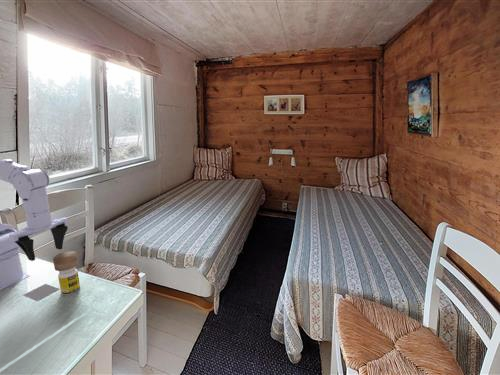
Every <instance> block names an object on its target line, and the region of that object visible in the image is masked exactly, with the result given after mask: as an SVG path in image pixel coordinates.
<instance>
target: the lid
mask: <svg viewBox="0 0 500 375" xmlns="http://www.w3.org/2000/svg"><path fill="white" fill-rule="evenodd" d="M78 260H79V259H78V255H77V252H76V251H72V250H71V251H70V250H69V251H64V252H60V253H58V254H56V255H54V256H53V257H52V261H53V266H54V270H55V271H57V272H59V271H65V270H69V269H71V268H74V267H76V266H77V265H79V261H78ZM77 267H78V266H77Z"/></svg>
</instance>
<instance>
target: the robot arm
mask: <svg viewBox="0 0 500 375" xmlns="http://www.w3.org/2000/svg"><path fill="white" fill-rule="evenodd" d="M49 176H50V175H49V174H48V173H47V172H46V171H45V170H43V169H41V168H39V167H38V168H33V169H32V168H29V167H28V166H27V165H21V164H19V163H16V162H14V160H13V159H11V158H9V159H7V158H5V159H1V160H0V180H1V181H4V182H6V183H9V184H10V185H12V186H13V189H15V191H16V192H17V194H18V197H19V198H20V199H21V201H22V202H21V203H22V206H23V211H24V216H25V220H26V225H27V226H26V227H24V228H21V229H19V230H16V229H15V228H14V226H13V225H12V224H7V223H2V222H0V290H3V289H4V288H8V287H9V286H12V285H14V284H16V283H18V282H21V281H22V280H26V279H27V278H29V277H31V275H30V274H27V273H24V271H23V266H22V262H21V258H20V251H21V249H22V251H23V252H24V254H25V255H26V257H27V259H28V261H31V262H34V261H36V255H35V252H34V251H35V250H34V239H32V238H30V236H33V235H36V234H39V233H41V232H42V233H43V232H45V231H48V230H50V232H51V234H52V238H53V240H54V241H53V242H54V247H55V249H57V250H63V247H64V246H63V245H64V241H65V240H64V239H65V236H66V233H67V231H68V229H69V228H68V224H69V219H68V217H60V218H59V217H58V218H56V219H52V213H51V209H50V208H51V207H50V204H49V198H48V193H47V189H46V188H47V187H48V186H49V184H50V177H49Z"/></svg>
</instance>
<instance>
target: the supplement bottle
mask: <svg viewBox="0 0 500 375" xmlns="http://www.w3.org/2000/svg"><path fill="white" fill-rule="evenodd" d="M57 277H58V282H59V283H58V284H59V290H60V293H61V295H63V296H68V295H72V294H75V293H76V292H79V291H80V289H81V284H80V279H79V278H80V277H79V272H78V269H77V267H76V266H75V267H74V268H71V269H69V270H65V271H58V275H57Z"/></svg>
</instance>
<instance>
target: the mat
mask: <svg viewBox="0 0 500 375" xmlns="http://www.w3.org/2000/svg"><path fill="white" fill-rule="evenodd" d="M57 291H60V287H59V288H58V287H55V286H52V285H50V284H48V283H47V284H46V283H44V284H42V285H39V286H38V287H36V288H34V289H32V290H30V291H28V292H27V293H24V294H23V296H24V297H26V298H29V299H32V300H34V301H36V302H39V301H41V300H42V299H44V298H47V297H49V296H50V295H52V294H55V292H57Z"/></svg>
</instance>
